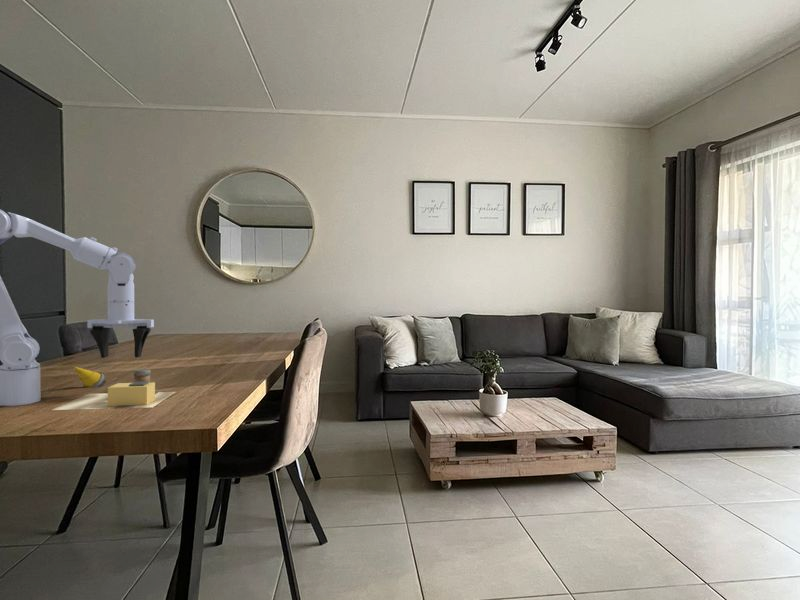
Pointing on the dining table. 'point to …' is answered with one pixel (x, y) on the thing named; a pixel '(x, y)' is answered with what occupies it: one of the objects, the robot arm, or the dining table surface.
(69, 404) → the panel
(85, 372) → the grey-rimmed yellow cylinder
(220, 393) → the dining table surface
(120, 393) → the stud finder
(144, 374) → the brown cylindrical piece
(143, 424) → the dining table surface
